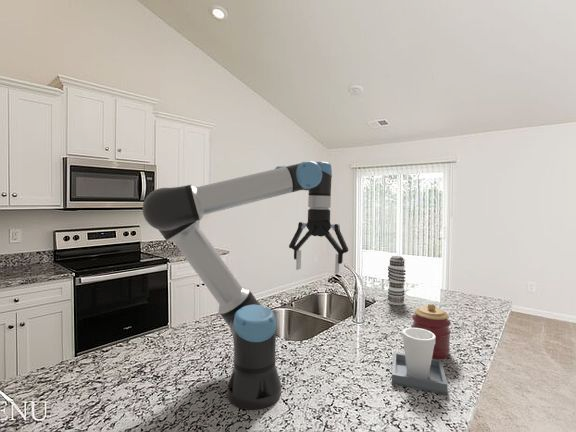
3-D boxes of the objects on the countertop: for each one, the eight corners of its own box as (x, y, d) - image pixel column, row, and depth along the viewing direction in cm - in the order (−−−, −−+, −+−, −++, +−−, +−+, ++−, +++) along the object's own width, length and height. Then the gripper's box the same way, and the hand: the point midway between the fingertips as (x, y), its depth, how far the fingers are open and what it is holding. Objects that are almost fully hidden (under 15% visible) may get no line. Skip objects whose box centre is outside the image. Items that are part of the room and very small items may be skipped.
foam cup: (437, 384, 95) (438, 341, 95) (404, 380, 97) (405, 338, 97) (429, 368, 105) (431, 329, 104) (399, 365, 107) (401, 326, 106)
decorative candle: (383, 300, 177) (384, 255, 176) (397, 299, 180) (399, 255, 179) (393, 305, 168) (394, 258, 167) (408, 304, 171) (409, 257, 170)
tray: (447, 394, 91) (447, 384, 91) (391, 384, 96) (391, 374, 96) (441, 368, 106) (441, 360, 105) (393, 360, 111) (393, 352, 110)
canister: (445, 345, 123) (447, 300, 122) (453, 362, 110) (455, 311, 109) (409, 341, 126) (410, 297, 125) (412, 356, 114) (414, 307, 113)
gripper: (358, 209, 107) (356, 272, 108) (288, 207, 116) (287, 265, 117) (354, 210, 100) (352, 277, 101) (280, 207, 109) (279, 269, 110)
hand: (317, 271), depth 109 cm, fingers open, 13 cm apart
